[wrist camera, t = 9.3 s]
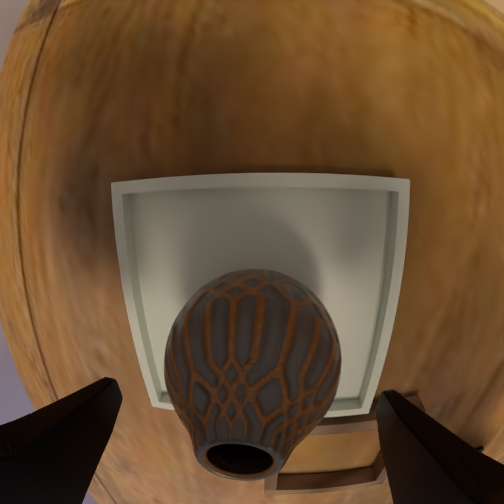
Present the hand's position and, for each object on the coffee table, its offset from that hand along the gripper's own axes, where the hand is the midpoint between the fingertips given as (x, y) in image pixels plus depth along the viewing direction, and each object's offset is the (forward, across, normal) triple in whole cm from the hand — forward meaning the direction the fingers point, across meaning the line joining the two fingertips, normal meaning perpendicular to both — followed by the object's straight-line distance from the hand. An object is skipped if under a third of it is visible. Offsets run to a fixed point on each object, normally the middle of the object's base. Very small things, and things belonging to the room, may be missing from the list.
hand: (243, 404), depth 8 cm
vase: (+7, 0, 0) cm, 7 cm away
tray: (+7, 0, 0) cm, 7 cm away
